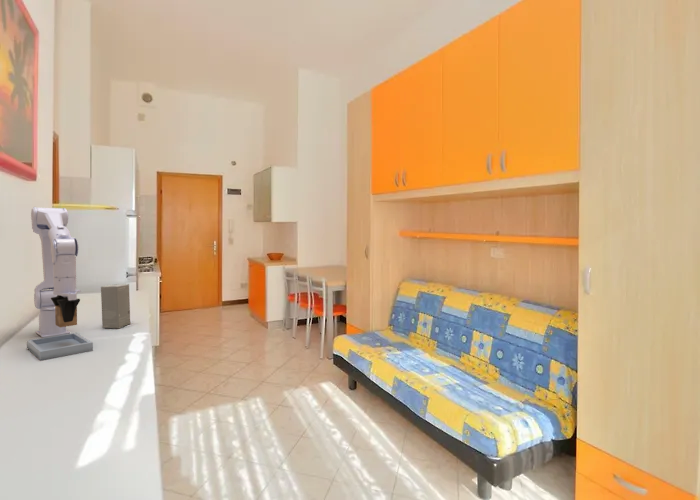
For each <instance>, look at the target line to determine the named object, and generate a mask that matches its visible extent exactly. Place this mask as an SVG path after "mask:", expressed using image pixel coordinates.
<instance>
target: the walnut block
mask: <svg viewBox="0 0 700 500" xmlns="http://www.w3.org/2000/svg"><path fill="white" fill-rule="evenodd" d="M55 324H56V325H57V326H58V327H66V328H67V327H72V326H77V325H78V306H77V307H76V310H75V313H74V318H73V321H71V322H64V320H63V316H62V311H61V308H60V305H58V306H55Z"/></svg>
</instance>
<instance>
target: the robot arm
mask: <svg viewBox="0 0 700 500" xmlns="http://www.w3.org/2000/svg"><path fill="white" fill-rule="evenodd" d="M30 216H31V217H30V219H31V229H32V232H33V233H35V234H37V235H39V238H40V242H41V243H40V244H41V259H42V272H43V281H41V282H40V283H38V284H37V285H36V286H35V287H34V290H33V291H34V293H33V296H34V297H33V302H34V308H35V309H37V310H39V313H38V330H35V333H36V334H37V335H39V336H40V338H45V337H52V336H58V335H64V334H71V332H70V330H68V329H67V326H66V327H58V326H57V325H56V324H55V306H58V305H60V308H61V311H62V316H63V320H64V322H71V321H73V318H74V313H75V310H76V307H77V308H78V305H79V304H80V301H81V299H80V298H77V295H78V293H81V292H82V291H81V289H77V258H76V257H78V255H79V242H78V239H77V238H76V237H73V236H72V234H71V231H70V230H69V228H68V227H67V226H68V223H69V212H68V210H67V208H66V207H63V208H59V207H58V208H57V207H37V206H33V207H32V208H31V212H30Z"/></svg>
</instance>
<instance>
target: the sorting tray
mask: <svg viewBox="0 0 700 500" xmlns="http://www.w3.org/2000/svg"><path fill="white" fill-rule="evenodd" d="M27 348H28V349H29V350H30V351H31V352H30V351H29V350H28V349H27ZM26 349H27V350H28V351H29V352H30V353H32V354H33V355H34V356H35V357H36V358H37V359H38V360H39V361H44V360H50V359H56V358H60V357H61V358H62V357H65V356H72V355H76V354H81V353H87V352H92V351H94V343H93V341H91V340H89V339H88V338H86V337H84V336H83V335H81V334H80V333H77V332H73V333H71V332H70V333H69V334H62V335H56V336H50V337H40V338H34V339H29V340H26Z"/></svg>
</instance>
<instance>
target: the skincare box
mask: <svg viewBox="0 0 700 500" xmlns="http://www.w3.org/2000/svg"><path fill="white" fill-rule="evenodd" d="M100 293H101V294H100V299H101V301H100V302H101V323H102V327H101V328H102V329H121V328H124V327H125V326H127V325H130V324H131V306H130V284H129V283H128V284H126V283H125V284H124V283H123V284H119V283H118V284H110V285H108V284H107V285H104V286H100Z"/></svg>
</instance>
